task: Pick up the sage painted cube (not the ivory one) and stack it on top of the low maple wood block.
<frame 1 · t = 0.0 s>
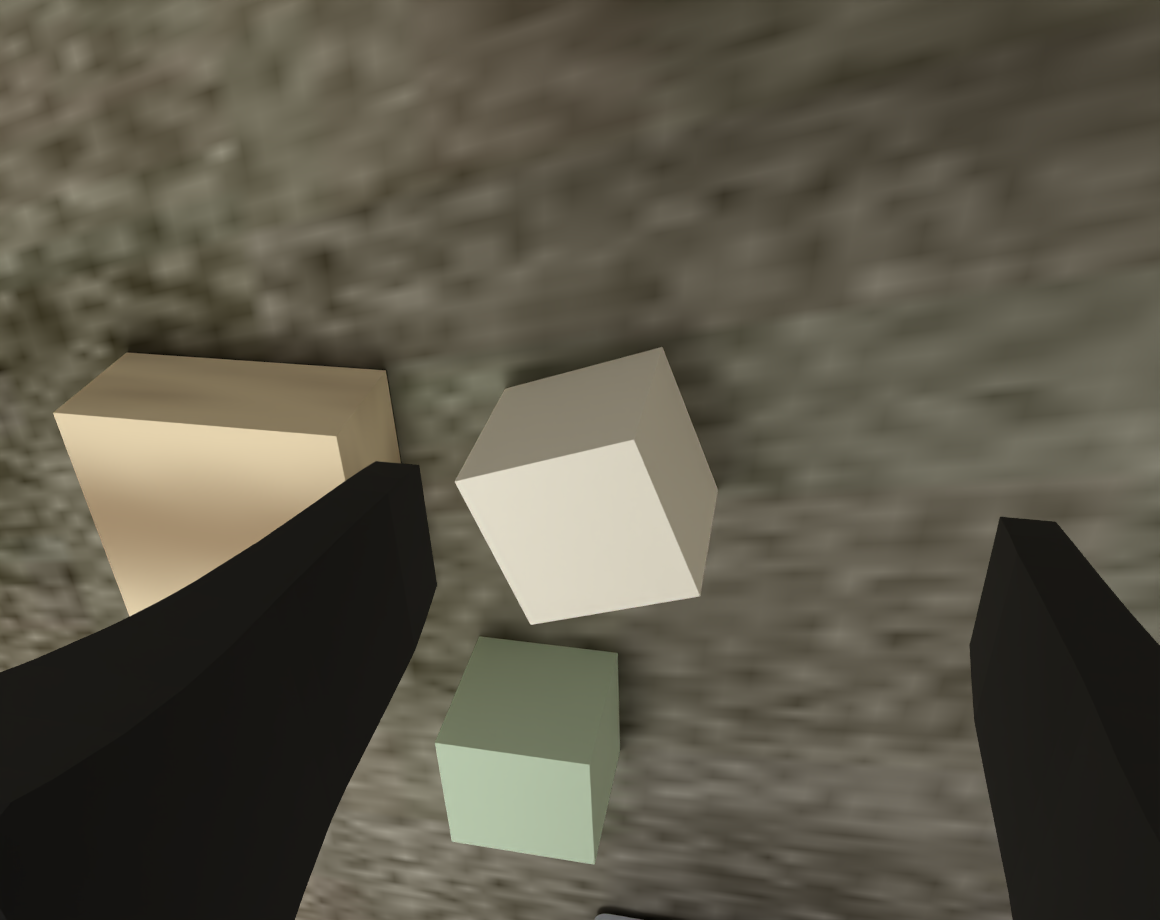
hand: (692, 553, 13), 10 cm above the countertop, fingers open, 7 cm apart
maple block: (281, 477, 27), on the countertop
ivory block: (612, 437, 25), on the countertop
sage block: (551, 692, 30), on the countertop
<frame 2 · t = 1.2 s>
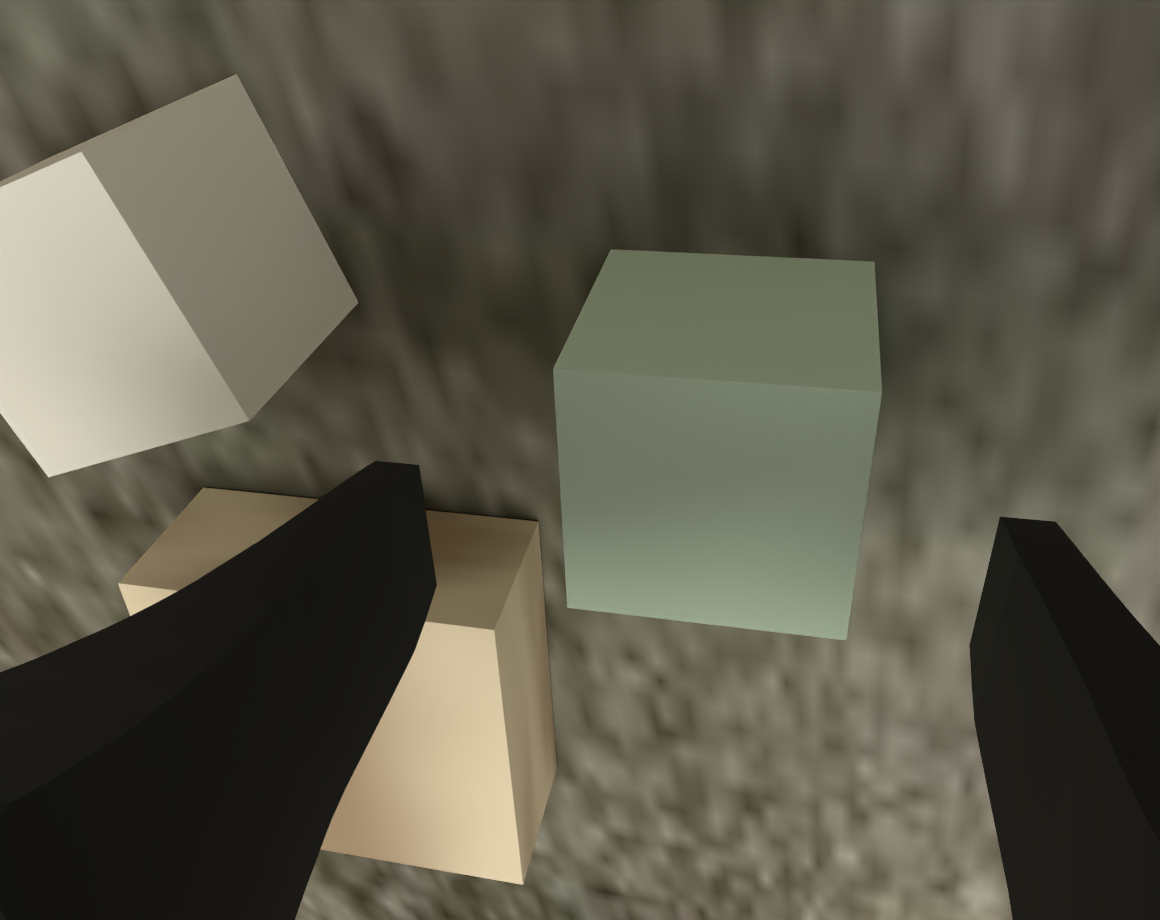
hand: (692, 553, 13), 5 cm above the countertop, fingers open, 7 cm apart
maple block: (390, 635, 22), on the countertop
ivory block: (208, 228, 17), on the countertop
sage block: (733, 368, 17), on the countertop
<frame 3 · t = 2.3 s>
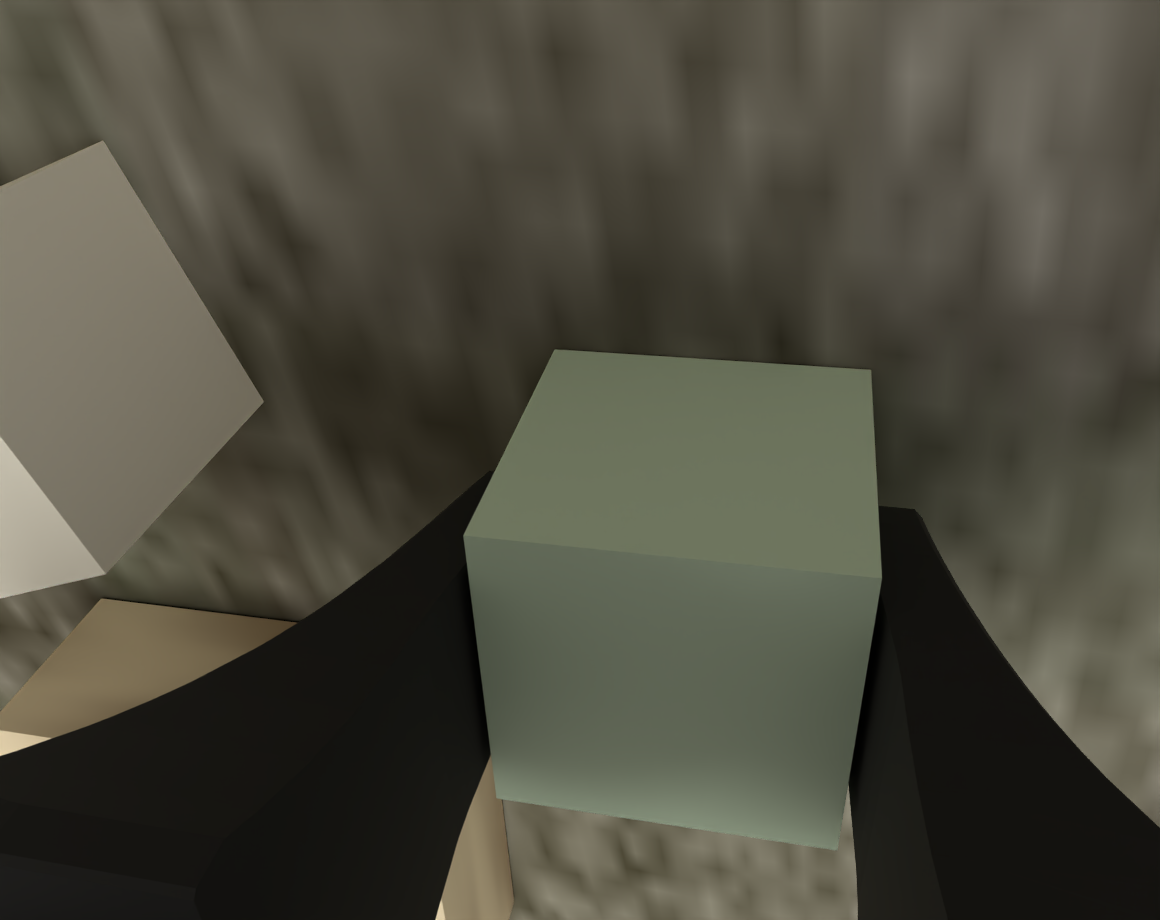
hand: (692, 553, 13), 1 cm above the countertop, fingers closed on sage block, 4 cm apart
maple block: (321, 759, 19), on the countertop
ivory block: (86, 315, 15), on the countertop
sage block: (703, 488, 14), on the countertop, touching gripper
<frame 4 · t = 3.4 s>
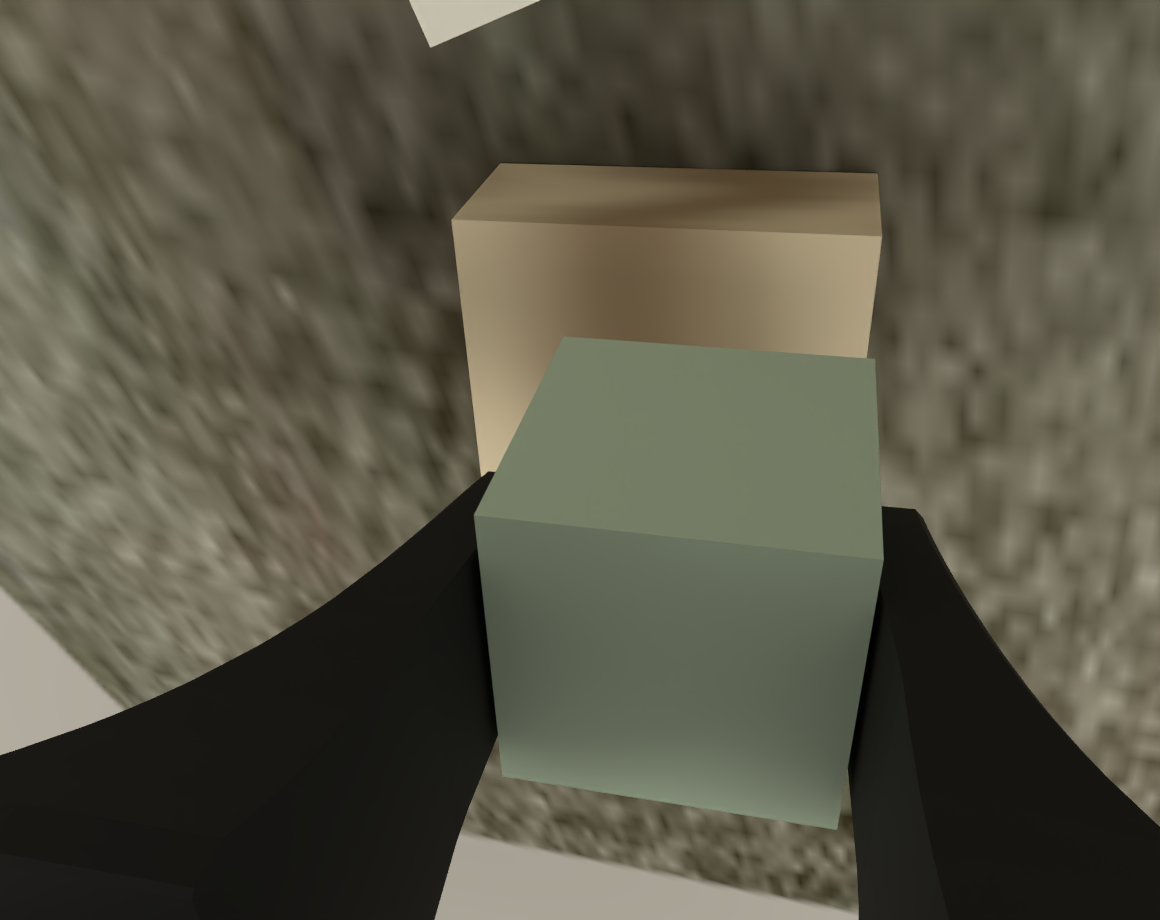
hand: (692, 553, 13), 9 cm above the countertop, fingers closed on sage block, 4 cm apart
maple block: (679, 337, 21), on the countertop
sage block: (708, 475, 14), point 7 cm above the countertop, touching gripper
when the fingers open (5 cm above the countertop, at t = 4.5 s): sage block stays where it is, resting on maple block.
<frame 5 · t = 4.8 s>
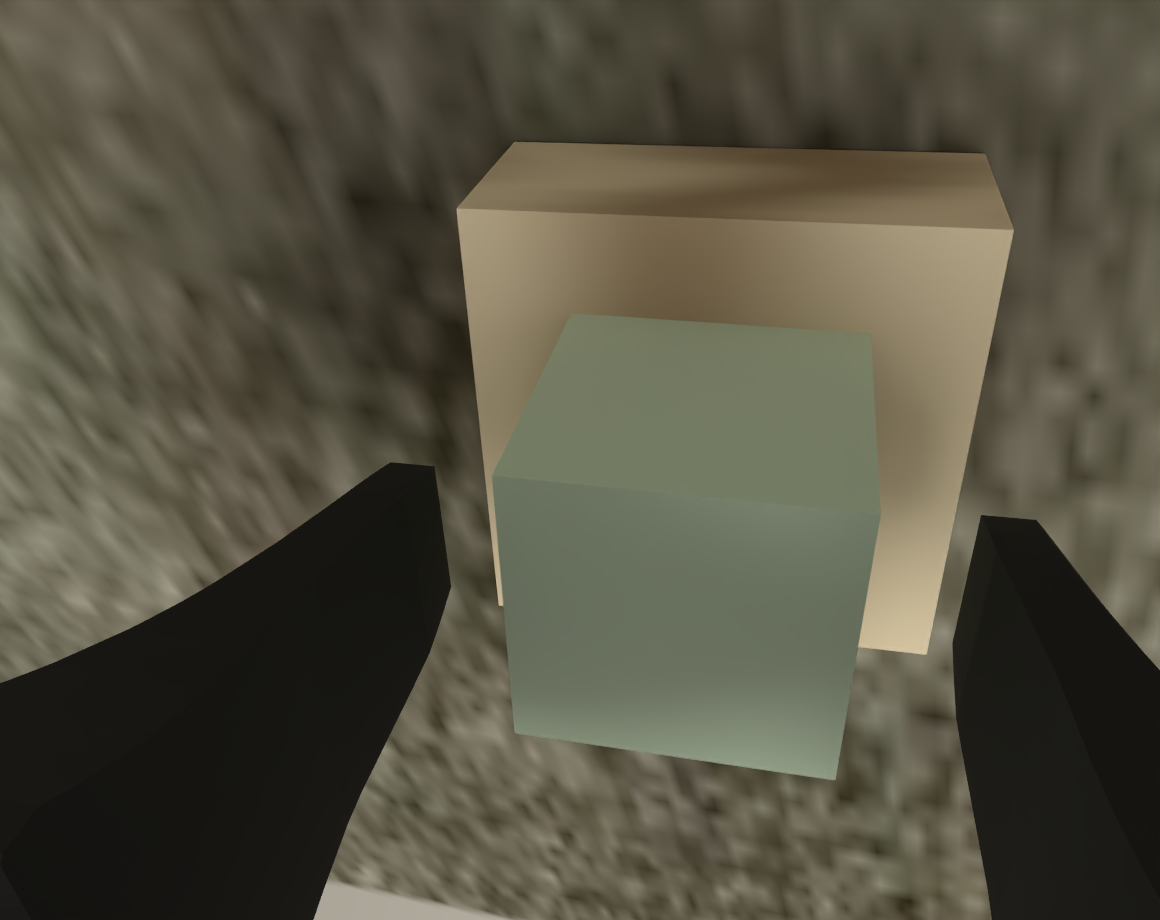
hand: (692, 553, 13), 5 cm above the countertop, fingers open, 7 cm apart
maple block: (729, 354, 17), on the countertop
sage block: (710, 447, 15), point 3 cm above the countertop, touching maple block
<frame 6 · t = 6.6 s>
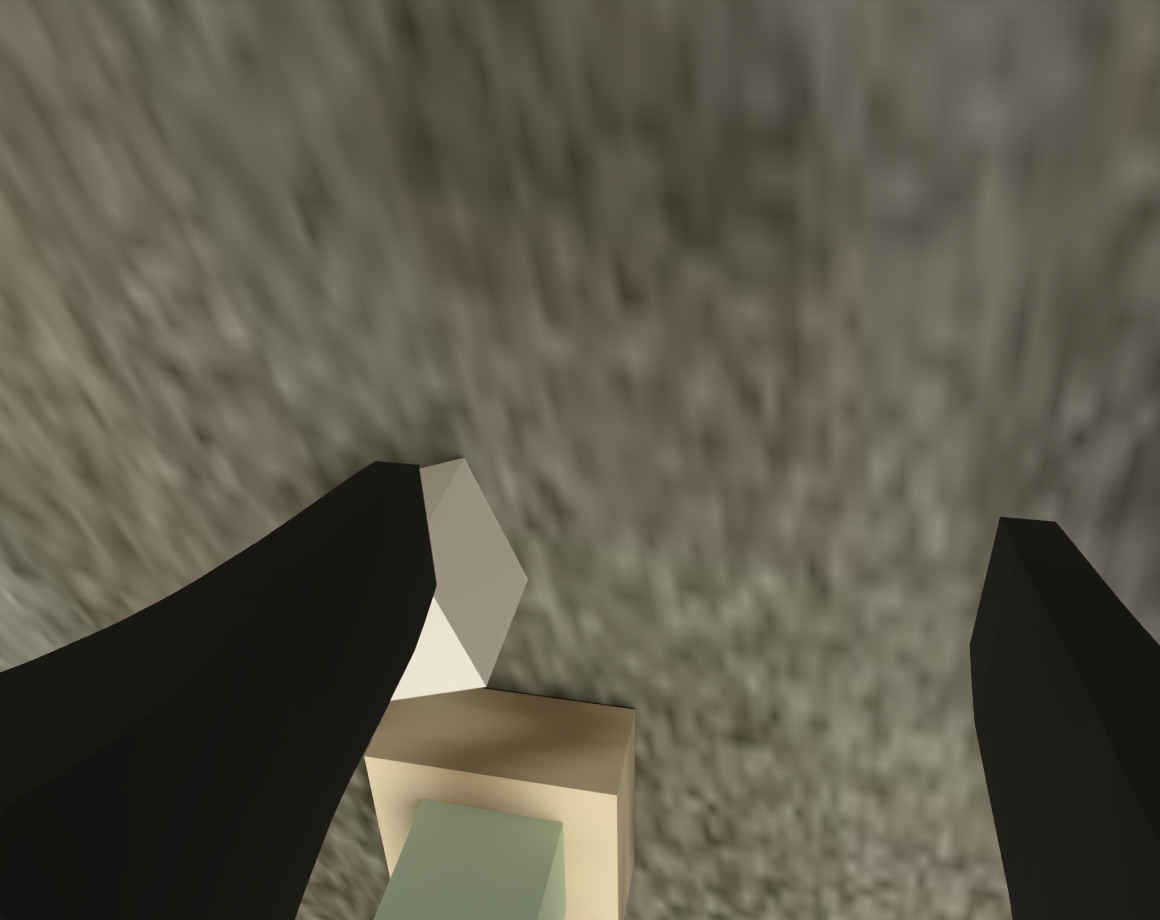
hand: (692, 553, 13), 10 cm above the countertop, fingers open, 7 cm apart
maple block: (523, 772, 32), on the countertop
ivory block: (432, 533, 27), on the countertop
sage block: (496, 855, 29), point 3 cm above the countertop, touching maple block
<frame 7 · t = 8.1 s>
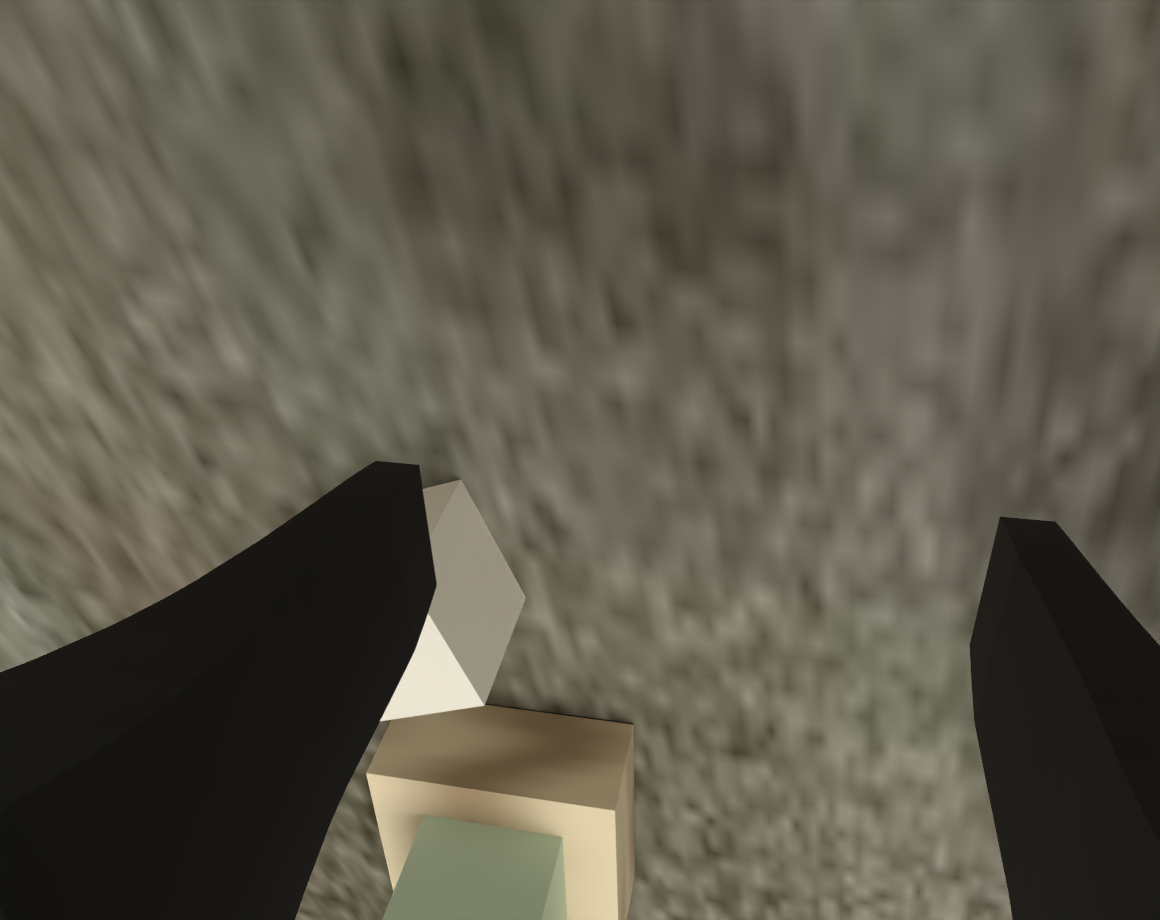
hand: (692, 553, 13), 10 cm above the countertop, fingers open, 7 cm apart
maple block: (524, 786, 32), on the countertop
ivory block: (430, 553, 28), on the countertop
sage block: (497, 869, 30), point 3 cm above the countertop, touching maple block
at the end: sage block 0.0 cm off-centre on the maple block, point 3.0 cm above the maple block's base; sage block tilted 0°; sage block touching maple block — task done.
